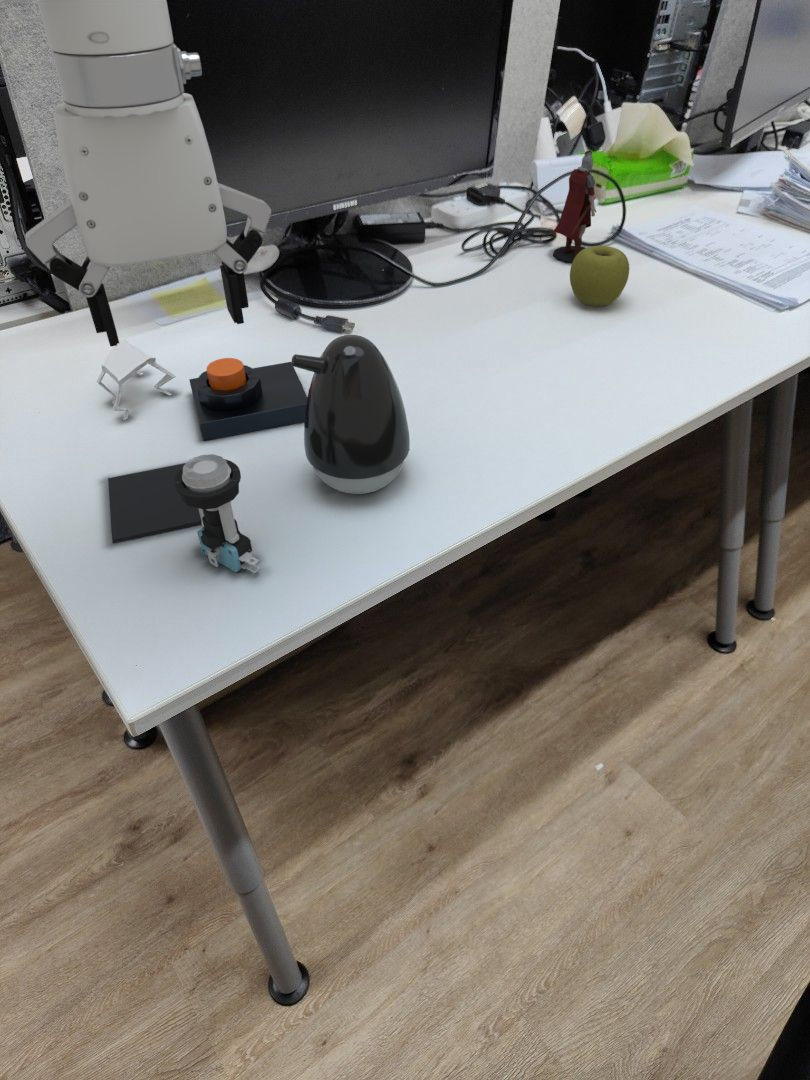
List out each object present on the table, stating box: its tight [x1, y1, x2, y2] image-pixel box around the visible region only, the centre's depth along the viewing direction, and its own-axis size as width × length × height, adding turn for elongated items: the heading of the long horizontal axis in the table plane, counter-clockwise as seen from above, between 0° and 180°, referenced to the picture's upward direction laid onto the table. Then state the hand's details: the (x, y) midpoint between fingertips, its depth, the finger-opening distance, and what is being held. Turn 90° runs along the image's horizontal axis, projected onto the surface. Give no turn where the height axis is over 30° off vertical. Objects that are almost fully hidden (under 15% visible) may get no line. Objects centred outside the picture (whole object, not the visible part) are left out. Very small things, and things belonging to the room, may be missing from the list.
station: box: [188, 361, 308, 441], centre depth 86 cm, size 12×10×4 cm
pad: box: [107, 462, 202, 544], centre depth 75 cm, size 10×10×1 cm
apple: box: [569, 245, 630, 307], centre depth 104 cm, size 8×8×7 cm
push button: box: [174, 453, 261, 574], centre depth 65 cm, size 7×5×10 cm
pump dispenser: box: [291, 334, 411, 495], centre depth 72 cm, size 10×10×15 cm
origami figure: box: [96, 338, 177, 421], centre depth 89 cm, size 12×8×5 cm
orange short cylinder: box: [205, 357, 246, 391], centre depth 84 cm, size 4×4×2 cm
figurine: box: [552, 150, 597, 264], centre depth 114 cm, size 7×7×15 cm
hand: (175, 327), depth 60 cm, fingers open, 9 cm apart
